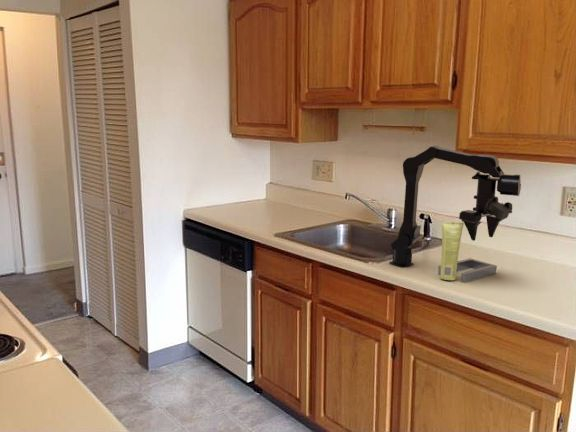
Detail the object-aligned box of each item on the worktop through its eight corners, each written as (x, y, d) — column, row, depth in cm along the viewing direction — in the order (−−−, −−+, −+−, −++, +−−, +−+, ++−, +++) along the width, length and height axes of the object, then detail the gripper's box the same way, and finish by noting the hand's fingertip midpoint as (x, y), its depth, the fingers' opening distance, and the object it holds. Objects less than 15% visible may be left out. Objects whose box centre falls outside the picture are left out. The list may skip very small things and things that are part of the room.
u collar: (438, 274, 184) (438, 265, 184) (469, 266, 194) (470, 258, 194) (464, 282, 176) (465, 274, 175) (496, 273, 185) (496, 265, 185)
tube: (445, 276, 183) (449, 220, 180) (459, 278, 179) (463, 222, 176) (437, 278, 178) (441, 221, 176) (451, 281, 175) (456, 223, 172)
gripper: (488, 199, 164) (484, 247, 167) (524, 194, 174) (520, 240, 177) (459, 194, 174) (456, 240, 177) (495, 189, 183) (491, 233, 187)
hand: (482, 238), depth 179 cm, fingers open, 9 cm apart
